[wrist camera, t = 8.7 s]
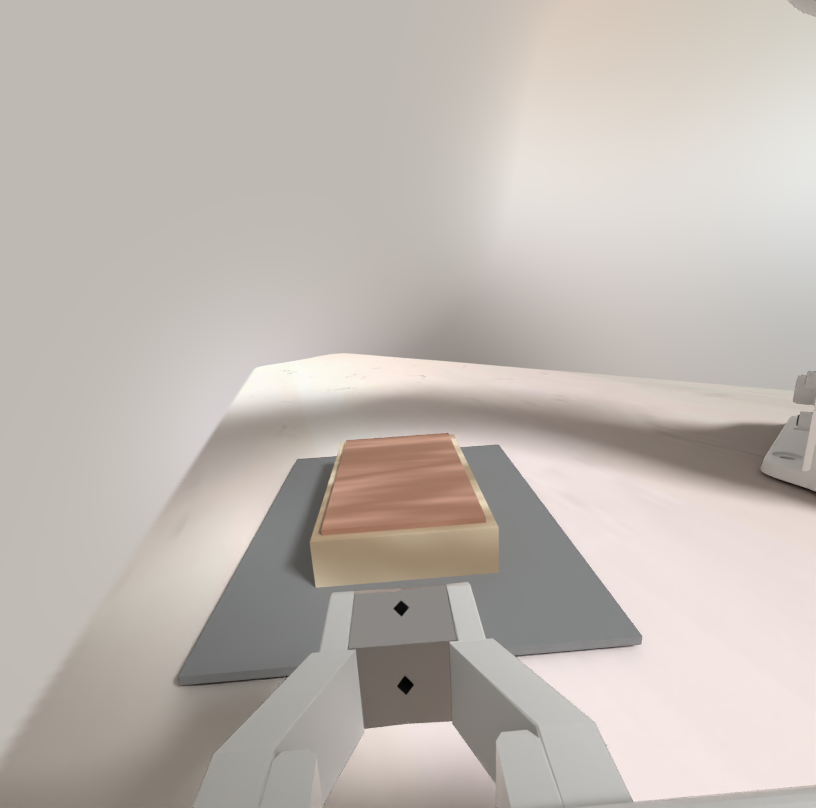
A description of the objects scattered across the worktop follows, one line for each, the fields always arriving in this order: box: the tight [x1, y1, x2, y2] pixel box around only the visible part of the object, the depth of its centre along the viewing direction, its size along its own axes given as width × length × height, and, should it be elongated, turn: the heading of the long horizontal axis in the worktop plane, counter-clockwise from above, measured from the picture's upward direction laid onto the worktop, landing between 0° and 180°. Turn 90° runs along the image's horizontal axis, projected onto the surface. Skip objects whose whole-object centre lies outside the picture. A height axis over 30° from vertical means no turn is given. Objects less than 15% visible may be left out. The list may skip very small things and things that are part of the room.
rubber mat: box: [178, 445, 642, 685], centre depth 27 cm, size 22×18×1 cm
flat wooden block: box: [310, 433, 499, 588], centre depth 27 cm, size 3×9×14 cm
